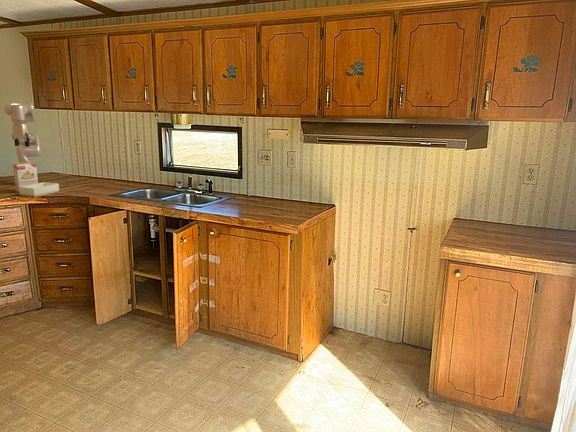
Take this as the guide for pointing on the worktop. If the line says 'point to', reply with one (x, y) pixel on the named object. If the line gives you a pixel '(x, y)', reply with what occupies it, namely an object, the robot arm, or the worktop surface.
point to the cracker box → (25, 174)
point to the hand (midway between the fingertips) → (22, 146)
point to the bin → (38, 189)
